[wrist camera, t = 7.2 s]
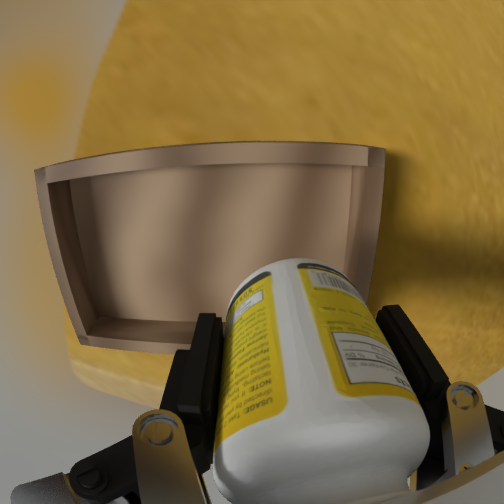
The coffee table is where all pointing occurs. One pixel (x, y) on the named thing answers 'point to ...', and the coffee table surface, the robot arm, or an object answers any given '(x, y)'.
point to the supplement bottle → (311, 395)
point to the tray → (200, 229)
